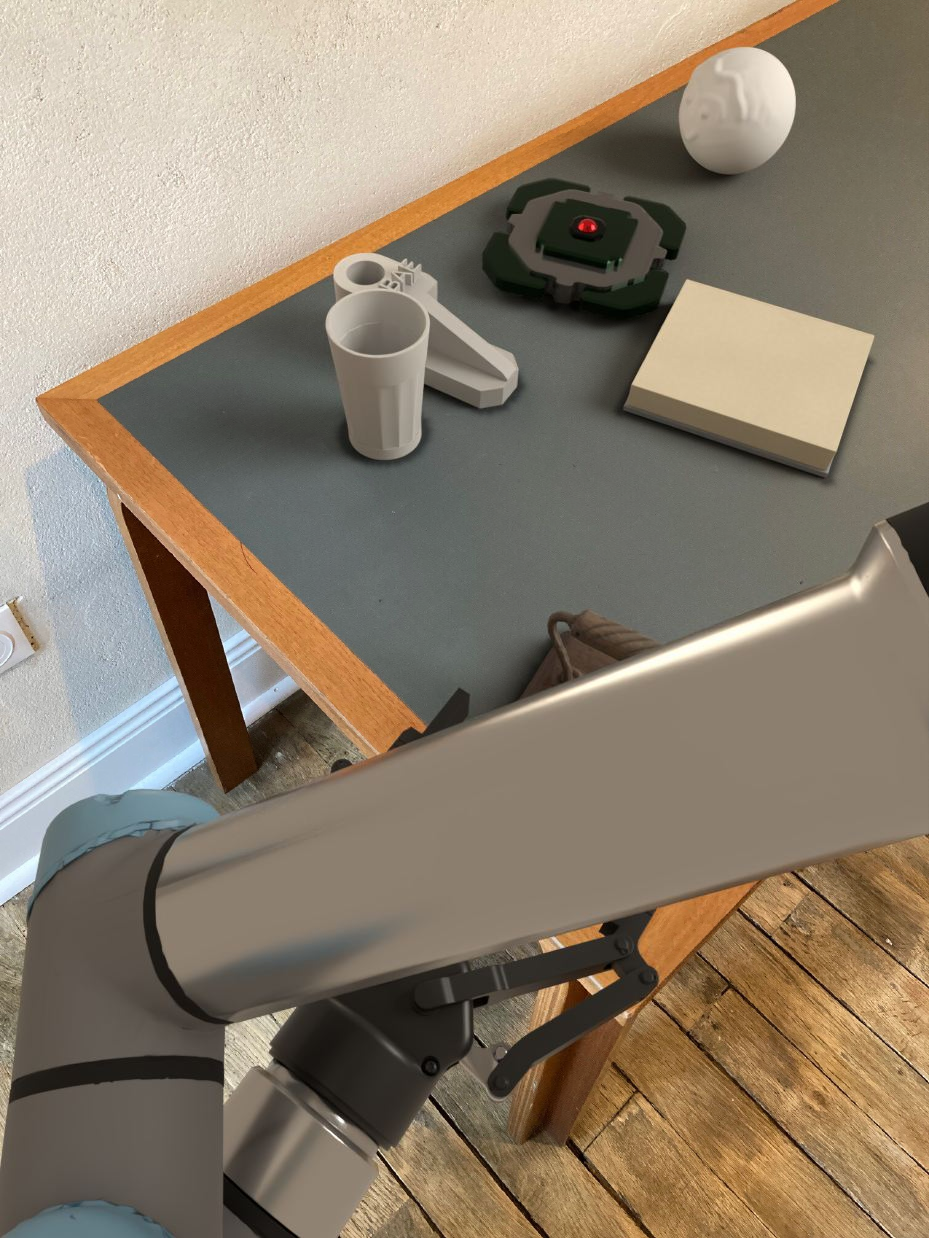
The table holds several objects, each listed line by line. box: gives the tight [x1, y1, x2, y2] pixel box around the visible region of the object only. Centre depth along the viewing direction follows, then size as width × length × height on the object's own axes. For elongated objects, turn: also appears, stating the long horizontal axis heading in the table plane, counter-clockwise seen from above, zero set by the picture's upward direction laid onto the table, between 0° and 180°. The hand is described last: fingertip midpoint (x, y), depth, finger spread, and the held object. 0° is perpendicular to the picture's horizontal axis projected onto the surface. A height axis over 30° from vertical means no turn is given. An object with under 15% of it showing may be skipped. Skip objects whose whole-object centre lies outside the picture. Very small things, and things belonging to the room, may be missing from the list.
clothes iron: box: [517, 609, 664, 701], centre depth 62 cm, size 14×10×11 cm
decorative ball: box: [678, 46, 797, 175], centre depth 100 cm, size 12×12×12 cm
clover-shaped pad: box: [481, 177, 687, 321], centre depth 94 cm, size 18×18×5 cm
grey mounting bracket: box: [332, 252, 519, 409], centre depth 84 cm, size 6×18×8 cm, turn 59°
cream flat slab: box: [622, 278, 875, 479], centre depth 85 cm, size 18×16×3 cm
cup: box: [324, 288, 430, 461], centre depth 77 cm, size 8×8×12 cm
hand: (562, 762), depth 53 cm, fingers open, 13 cm apart
